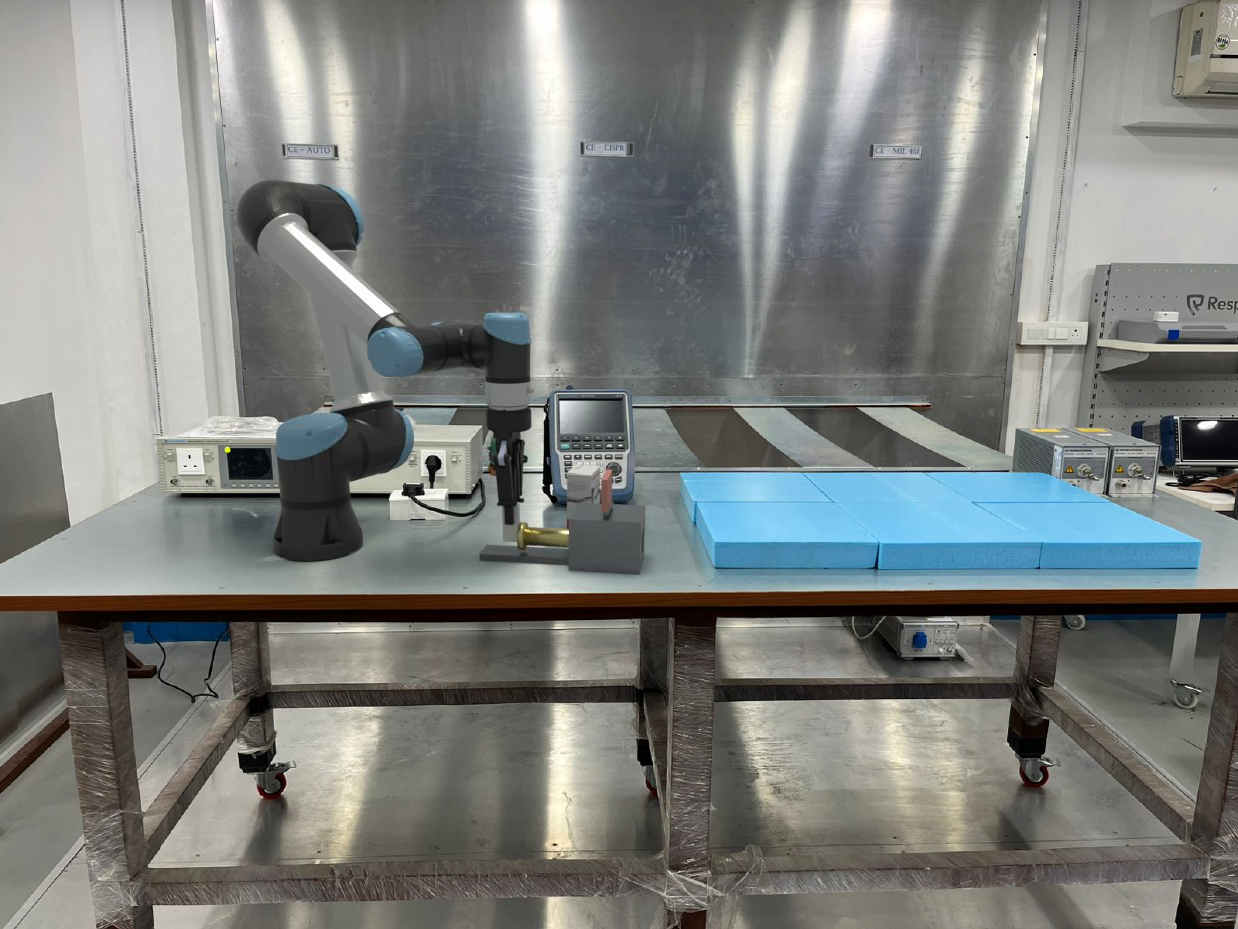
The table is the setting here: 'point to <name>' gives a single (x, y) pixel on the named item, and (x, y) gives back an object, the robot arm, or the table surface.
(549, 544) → the lynch pin
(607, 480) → the salmon pink slab
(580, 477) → the ink box
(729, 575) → the table surface
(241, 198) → the robot arm
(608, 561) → the block
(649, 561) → the table surface
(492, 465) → the green pump
